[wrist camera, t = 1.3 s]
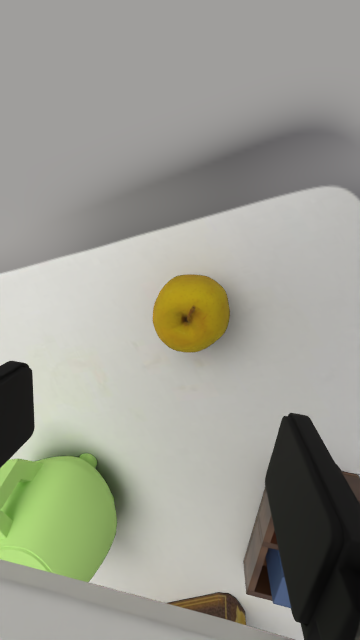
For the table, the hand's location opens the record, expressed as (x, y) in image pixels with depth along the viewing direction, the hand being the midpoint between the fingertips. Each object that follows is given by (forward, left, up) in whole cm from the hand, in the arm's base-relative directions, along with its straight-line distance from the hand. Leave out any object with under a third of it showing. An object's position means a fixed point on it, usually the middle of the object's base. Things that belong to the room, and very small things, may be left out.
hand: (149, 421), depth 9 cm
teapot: (+12, +26, -17) cm, 33 cm away
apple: (0, -1, -17) cm, 17 cm away
